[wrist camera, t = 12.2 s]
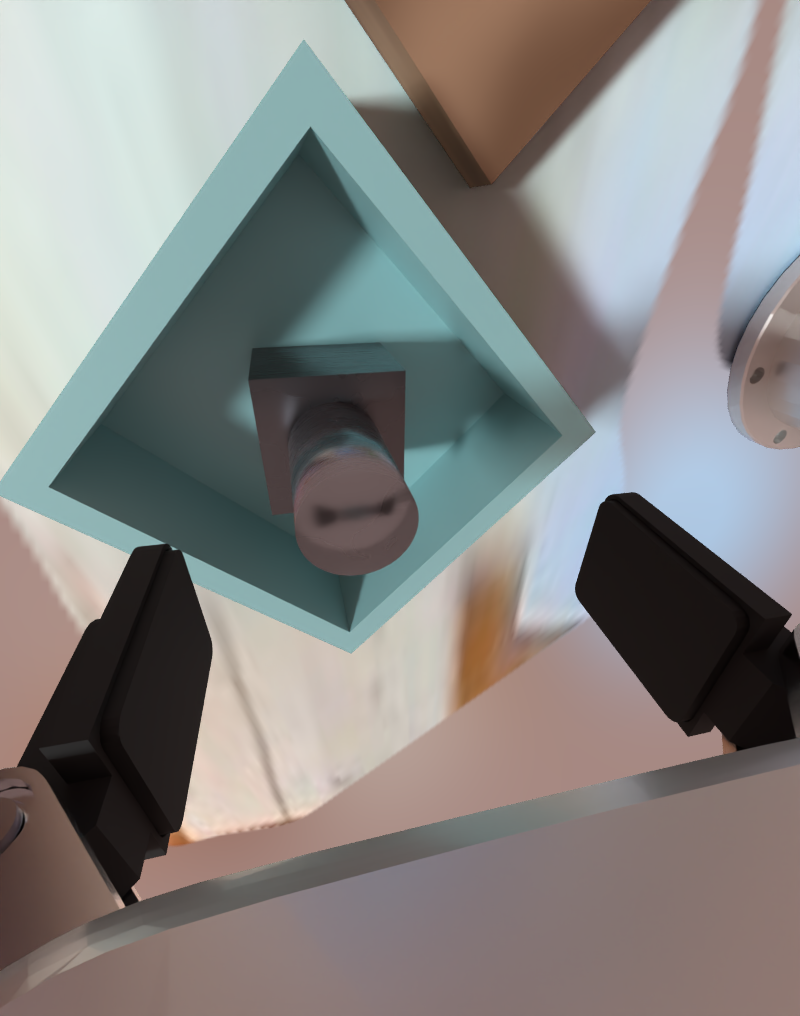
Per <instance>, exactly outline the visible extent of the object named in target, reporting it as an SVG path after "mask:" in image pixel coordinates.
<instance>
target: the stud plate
mask: <svg viewBox="0 0 800 1016" xmlns="http://www.w3.org/2000/svg"><path fill="white" fill-rule="evenodd" d="M650 1H651V0H345V2H346V3H347V5H348V6H349V8H350V9H351V11H352V12H353V14H354V15H355V17H356V18H357V20H358V21H359V23H360V24H361V26H362V27H363V29H364V30H365V32H366V33H367V35H368V36H369V38H370V39H371V41H372V42H373V44H374V45H375V47H376V48H377V50H378V51H379V53H380V54H381V56H382V57H383V59H384V60H385V62H386V63H387V65H388V66H389V68H390V69H391V71H392V72H393V74H394V75H395V77H396V78H397V80H398V81H399V83H400V84H401V86H402V87H403V89H404V90H405V92H406V93H407V95H408V96H409V98H410V99H411V101H412V102H413V104H414V105H415V107H416V108H417V110H418V111H419V113H420V114H421V116H422V117H423V119H424V120H425V121H426V123H427V124H428V126H429V127H430V129H431V130H432V132H433V133H434V135H435V136H436V138H437V139H438V141H439V142H440V144H441V145H442V147H443V148H444V150H445V151H446V153H447V154H448V156H449V157H450V159H451V160H452V162H453V163H454V165H455V166H456V168H457V169H458V171H459V172H460V174H461V175H462V177H463V178H464V180H465V181H466V183H467V184H468V186H469V187H470V188H473V187H479V186H485V185H490V184H492V183H493V182H494V181H495V180H496V179H497V177H498V176H499V175H500V174H501V173H502V172H503V171H504V169H505V168H506V167H507V166H508V165H509V164H510V162H511V161H512V160H513V159H514V158H515V157H516V156H517V154H518V153H519V152H520V151H521V150H522V149H523V147H524V146H525V145H526V144H527V143H528V142H529V141H530V139H531V138H532V137H533V136H534V135H535V134H536V132H537V131H538V130H539V129H540V128H541V127H542V126H543V124H544V123H545V122H546V121H547V120H548V119H549V117H550V116H551V115H552V114H553V113H554V112H555V111H556V109H557V108H558V107H559V106H560V105H561V104H562V102H563V101H564V100H565V99H566V98H567V97H568V96H569V94H570V93H571V92H572V91H573V90H574V89H575V87H576V86H577V85H578V84H579V83H580V82H581V81H582V79H583V78H584V77H585V76H586V75H587V74H588V72H589V71H590V70H591V69H592V68H593V67H594V66H595V64H596V63H597V62H598V61H599V60H600V59H601V57H602V56H603V55H604V54H605V53H606V52H607V51H608V49H609V48H610V47H611V46H612V45H613V44H614V42H615V41H616V40H617V39H618V38H619V37H620V36H621V34H622V33H623V32H624V31H625V30H626V29H627V27H628V26H629V25H630V24H631V23H632V22H633V21H634V19H635V18H636V17H637V16H638V15H639V14H640V12H641V11H642V10H643V9H644V8H645V7H646V6H647V4H648V3H649V2H650Z"/></svg>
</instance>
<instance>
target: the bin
mask: <svg viewBox="0 0 800 1016" xmlns="http://www.w3.org/2000/svg"><path fill="white" fill-rule="evenodd" d="M376 342H380V343H381V344H382V345H383V346H384V347H385V349H386V350H387V351H388V352H389V353H390V354H391V355H392V356H393V357H394V358H395V359H396V361H397V362H398V363H399V364H400V365H401V366H402V367H403V368H404V369H405V370H406V382H405V444H404V480H405V482H406V484H407V486H408V488H409V490H410V492H411V494H412V496H413V498H414V499H415V502H416V504H417V508H418V513H419V523H418V528H417V532H416V535H415V537H414V539H413V541H412V543H411V545H410V546H409V547H408V549H407V550H406V551H405V552H404V553H403V554H402V555H401V556H400V557H399V558H398V559H397V560H395V561H394V562H393V563H391V564H390V565H388V566H386V567H384V568H382V569H380V570H377V571H375V572H371V573H368V574H363V575H355V576H345V575H337V574H332V573H329V572H326V571H324V570H322V569H320V568H318V567H316V566H315V565H313V564H312V563H311V562H310V561H308V560H307V559H306V557H305V556H304V555H303V554H302V552H301V550H300V549H299V546H298V544H297V540H296V536H295V524H294V513H288V514H280V515H272V512H271V506H270V501H269V495H268V489H267V484H266V478H265V472H264V467H263V461H262V456H261V450H260V444H259V439H258V433H257V428H256V422H255V416H254V411H253V405H252V400H251V394H250V388H249V383H248V377H249V369H250V362H251V354H252V348H267V347H289V346H311V345H332V344H354V343H376ZM594 433H595V430H594V429H593V428H592V426H591V425H590V424H589V422H588V421H587V420H586V418H585V417H584V416H583V414H582V413H581V412H580V410H579V409H578V408H577V406H576V405H575V404H574V402H573V401H572V399H571V398H570V397H569V395H568V394H567V393H566V391H565V390H564V389H563V387H562V386H561V385H560V383H559V382H558V381H557V379H556V378H555V377H554V375H553V374H552V373H551V371H550V370H549V369H548V367H547V366H546V365H545V363H544V362H543V360H542V359H541V358H540V356H539V355H538V354H537V352H536V351H535V350H534V348H533V347H532V346H531V344H530V343H529V342H528V340H527V339H526V338H525V336H524V335H523V334H522V332H521V331H520V330H519V328H518V327H517V325H516V324H515V323H514V321H513V320H512V319H511V317H510V316H509V315H508V313H507V312H506V311H505V309H504V308H503V307H502V305H501V304H500V303H499V301H498V300H497V299H496V297H495V296H494V295H493V293H492V292H491V291H490V289H489V288H488V286H487V285H486V284H485V282H484V281H483V280H482V278H481V277H480V276H479V274H478V273H477V272H476V270H475V269H474V268H473V266H472V265H471V264H470V262H469V261H468V260H467V258H466V257H465V256H464V254H463V253H462V252H461V250H460V249H459V247H458V246H457V245H456V243H455V242H454V241H453V239H452V238H451V237H450V235H449V234H448V233H447V231H446V230H445V229H444V227H443V226H442V225H441V223H440V222H439V221H438V219H437V218H436V217H435V215H434V214H433V212H432V211H431V210H430V208H429V207H428V206H427V204H426V203H425V202H424V200H423V199H422V198H421V196H420V195H419V194H418V192H417V191H416V190H415V188H414V187H413V186H412V184H411V183H410V182H409V180H408V179H407V178H406V176H405V175H404V173H403V172H402V171H401V169H400V168H399V167H398V165H397V164H396V163H395V161H394V160H393V159H392V157H391V156H390V155H389V153H388V152H387V151H386V149H385V148H384V147H383V145H382V144H381V143H380V141H379V140H378V138H377V137H376V136H375V134H374V133H373V132H372V130H371V129H370V128H369V126H368V125H367V124H366V122H365V121H364V120H363V118H362V117H361V116H360V114H359V113H358V112H357V110H356V109H355V108H354V106H353V105H352V104H351V102H350V101H349V99H348V98H347V97H346V95H345V94H344V93H343V91H342V90H341V89H340V87H339V86H338V85H337V83H336V82H335V81H334V79H333V78H332V77H331V75H330V74H329V73H328V71H327V70H326V69H325V67H324V66H323V64H322V63H321V62H320V60H319V59H318V58H317V56H316V55H315V54H314V52H313V51H312V50H311V48H310V47H309V46H308V44H307V43H306V42H305V40H303V41H302V43H301V44H300V45H299V47H298V48H297V50H296V51H295V53H294V54H293V56H292V57H291V59H290V60H289V61H288V63H287V64H286V66H285V67H284V69H283V70H282V72H281V73H280V75H279V76H278V78H277V79H276V80H275V82H274V83H273V85H272V86H271V88H270V89H269V91H268V92H267V94H266V95H265V96H264V98H263V99H262V101H261V102H260V104H259V105H258V107H257V108H256V110H255V111H254V112H253V114H252V115H251V117H250V118H249V120H248V121H247V123H246V124H245V126H244V127H243V129H242V130H241V131H240V133H239V134H238V136H237V137H236V139H235V140H234V142H233V143H232V145H231V146H230V147H229V149H228V150H227V152H226V153H225V155H224V156H223V158H222V159H221V161H220V162H219V163H218V165H217V166H216V168H215V169H214V171H213V172H212V174H211V175H210V177H209V178H208V180H207V181H206V182H205V184H204V185H203V187H202V188H201V190H200V191H199V193H198V194H197V196H196V197H195V198H194V200H193V201H192V203H191V204H190V206H189V207H188V209H187V210H186V212H185V213H184V214H183V216H182V217H181V219H180V220H179V222H178V223H177V225H176V226H175V228H174V229H173V231H172V232H171V233H170V235H169V236H168V238H167V239H166V241H165V242H164V244H163V245H162V247H161V248H160V249H159V251H158V252H157V254H156V255H155V257H154V258H153V260H152V261H151V263H150V264H149V265H148V267H147V268H146V270H145V271H144V273H143V274H142V276H141V277H140V279H139V280H138V282H137V283H136V284H135V286H134V287H133V289H132V290H131V292H130V293H129V295H128V296H127V298H126V299H125V300H124V302H123V303H122V305H121V306H120V308H119V309H118V311H117V312H116V314H115V315H114V316H113V318H112V319H111V321H110V322H109V324H108V325H107V327H106V328H105V330H104V331H103V333H102V334H101V335H100V337H99V338H98V340H97V341H96V343H95V344H94V346H93V347H92V349H91V350H90V351H89V353H88V354H87V356H86V357H85V359H84V360H83V362H82V363H81V365H80V366H79V367H78V369H77V370H76V372H75V373H74V375H73V376H72V378H71V379H70V381H69V382H68V383H67V385H66V386H65V388H64V389H63V391H62V392H61V394H60V395H59V397H58V398H57V400H56V401H55V402H54V404H53V405H52V407H51V408H50V410H49V411H48V413H47V414H46V416H45V417H44V418H43V420H42V421H41V423H40V424H39V426H38V427H37V429H36V430H35V432H34V433H33V434H32V436H31V437H30V439H29V440H28V442H27V443H26V445H25V446H24V448H23V449H22V451H21V452H20V453H19V455H18V456H17V458H16V459H15V461H14V462H13V464H12V465H11V467H10V468H9V469H8V471H7V472H6V474H5V475H4V477H3V478H2V480H1V481H0V496H1V497H3V498H6V499H8V500H10V501H12V502H15V503H17V504H19V505H21V506H23V507H26V508H28V509H30V510H32V511H35V512H37V513H39V514H41V515H44V516H46V517H48V518H50V519H52V520H55V521H57V522H59V523H61V524H64V525H66V526H68V527H70V528H73V529H75V530H77V531H79V532H81V533H84V534H86V535H88V536H90V537H93V538H95V539H97V540H99V541H101V542H104V543H106V544H108V545H110V546H113V547H115V548H117V549H119V550H122V551H124V552H126V553H128V554H130V555H131V554H132V552H133V550H134V549H135V548H136V547H140V546H149V545H158V544H169V545H170V546H171V547H172V550H178V549H179V550H181V551H182V553H183V556H184V559H185V562H186V565H187V568H188V571H189V574H190V577H191V580H192V582H193V583H195V584H197V585H200V586H202V587H204V588H206V589H208V590H211V591H213V592H215V593H217V594H220V595H222V596H224V597H226V598H229V599H231V600H233V601H235V602H237V603H240V604H242V605H244V606H246V607H249V608H251V609H253V610H255V611H258V612H260V613H262V614H264V615H266V616H269V617H271V618H273V619H275V620H278V621H280V622H282V623H284V624H287V625H289V626H291V627H293V628H295V629H298V630H300V631H302V632H304V633H307V634H309V635H311V636H313V637H315V638H318V639H320V640H322V641H324V642H327V643H329V644H331V645H333V646H336V647H338V648H340V649H342V650H344V651H347V652H349V653H352V652H354V651H355V650H356V649H357V648H358V647H359V646H360V645H361V644H362V643H364V642H365V641H366V640H367V639H368V638H369V637H370V636H371V635H372V634H373V633H375V632H376V631H377V630H378V629H379V628H380V627H381V626H382V625H383V624H384V623H386V622H387V621H388V620H389V619H390V618H391V617H392V616H393V615H394V614H396V613H397V612H398V611H399V610H400V609H401V608H402V607H403V606H404V605H405V604H407V603H408V602H409V601H410V600H411V599H412V598H413V597H414V596H415V595H417V594H418V593H419V592H420V591H421V590H422V589H423V588H424V587H425V586H426V585H428V584H429V583H430V582H431V581H432V580H433V579H434V578H435V577H436V576H437V575H439V574H440V573H441V572H442V571H443V570H444V569H445V568H446V567H447V566H449V565H450V564H451V563H452V562H453V561H454V560H455V559H456V558H457V557H458V556H460V555H461V554H462V553H463V552H464V551H465V550H466V549H467V548H468V547H470V546H471V545H472V544H473V543H474V542H475V541H476V540H477V539H478V538H479V537H481V536H482V535H483V534H484V533H485V532H486V531H487V530H488V529H489V528H490V527H492V526H493V525H494V524H495V523H496V522H497V521H498V520H499V519H500V518H502V517H503V516H504V515H505V514H506V513H507V512H508V511H509V510H510V509H511V508H513V507H514V506H515V505H516V504H517V503H518V502H519V501H520V500H521V499H523V498H524V497H525V496H526V495H527V494H528V493H529V492H530V491H531V490H532V489H534V488H535V487H536V486H537V485H538V484H539V483H540V482H541V481H542V480H543V479H545V478H546V477H547V476H548V475H549V474H550V473H551V472H552V471H553V470H555V469H556V468H557V467H558V466H559V465H560V464H561V463H562V462H563V461H564V460H566V459H567V458H568V457H569V456H570V455H571V454H572V453H573V452H574V451H576V450H577V449H578V448H579V447H580V446H581V445H582V444H583V443H584V442H585V441H587V440H588V439H589V438H590V437H591V436H592V435H593V434H594Z"/></svg>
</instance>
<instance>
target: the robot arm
mask: <svg viewBox="0 0 800 1016" xmlns="http://www.w3.org/2000/svg"><path fill="white" fill-rule="evenodd" d="M727 394H728V395H727V397H728V410H729V413H730V417H731V420H732V423H733V424H734V425H735V427H736V429H737V430H738V431H739V433H740V434H742V435H743V436H744V437H746V438H747V439H749V440H751V441H753V442H755V443H758V444H760V445H763V446H765V447H767V448H774V449H789V448H796V447H800V256H799V257H798V258H797V259H796V260H795V261H794V262H793V264H792V265H791V266H790V267H789V268H788V269H787V270H786V271H785V272H784V273H783V274H782V275H781V277H780V278H779V279H778V280H777V282H776V283H775V284H774V286H773V287H772V288H771V290H770V291H769V292H768V294H767V295H766V296H765V298H764V299H763V300H762V302H761V304H760V305H759V307H758V309H757V310H756V312H755V314H754V315H753V317H752V319H751V320H750V322H749V323H748V326H747V328H746V330H745V332H744V334H743V336H742V339H741V341H740V343H739V345H738V347H737V350H736V354H735V357H734V360H733V363H732V366H731V369H730V376H729V382H728V389H727ZM575 592H576V596H577V598H578V600H579V601H580V603H581V604H582V605H583V607H584V608H585V609H586V611H587V612H588V613H589V615H590V616H591V617H592V618H593V620H594V621H595V622H596V624H597V625H598V626H599V628H600V629H601V630H602V632H603V633H604V634H605V636H606V637H607V638H608V639H609V641H610V642H611V643H612V645H613V646H614V647H615V649H616V650H617V651H618V653H619V654H620V655H621V657H622V658H623V659H624V660H625V662H626V663H627V664H628V666H629V667H630V668H631V670H632V671H633V672H634V674H636V676H637V677H638V679H639V680H640V682H641V683H642V684H643V685H644V687H645V688H646V689H647V691H648V692H649V693H650V695H651V696H652V697H653V699H654V700H655V701H656V703H657V704H658V705H659V707H660V708H661V709H662V710H663V712H664V713H665V714H666V715H667V717H668V718H669V719H671V720H672V721H674V722H677V723H678V724H679V726H680V727H681V728H682V730H683V731H684V732H685V733H686V735H687V736H688V737H689V736H693V735H698V734H702V733H706V732H710V731H711V730H712V729H713V727H714V726H716V727H717V728H718V729H719V730H720V732H721V733H722V742H723V755H719V756H715V757H711V758H707V759H702V760H698V761H693V762H689V763H685V764H680V765H676V766H672V767H668V768H663V769H659V770H655V771H650V772H646V773H642V774H638V775H633V776H629V777H625V778H621V779H617V780H612V781H608V782H604V783H600V784H596V785H591V786H587V787H583V788H578V789H575V790H570V791H566V792H562V793H557V794H553V795H549V796H545V797H541V798H537V799H532V800H528V801H524V802H520V803H516V804H511V805H507V806H503V807H499V808H495V809H491V810H486V811H482V812H478V813H474V814H470V815H466V816H462V817H457V818H453V819H449V820H445V821H441V822H437V823H433V824H429V825H425V826H421V827H417V828H412V829H408V830H404V831H400V832H396V833H392V834H388V835H383V836H379V837H375V838H371V839H367V840H363V841H359V842H355V843H351V844H347V845H343V846H338V847H334V848H330V849H326V850H322V851H318V852H314V853H310V854H306V855H302V856H299V857H295V858H291V859H287V860H283V861H279V862H276V863H272V864H269V865H264V866H260V867H257V868H253V869H249V870H245V871H241V872H238V873H234V874H230V875H227V876H222V877H219V878H215V879H212V880H207V881H204V882H200V883H197V884H193V885H190V886H187V887H184V888H181V889H178V890H174V891H171V892H168V893H165V894H162V895H159V896H155V897H152V898H149V899H146V900H143V901H142V900H141V898H140V896H139V895H138V893H137V891H136V890H135V888H134V884H135V883H136V882H137V881H138V880H139V879H140V876H141V872H142V867H143V863H144V860H145V859H150V858H154V857H159V856H163V855H166V853H167V848H168V843H169V837H170V833H174V832H177V831H179V829H180V827H181V825H182V821H183V817H184V811H185V805H186V800H187V794H188V789H189V783H190V778H191V772H192V766H193V761H194V755H195V750H196V744H197V738H198V733H199V727H200V722H201V716H202V711H203V705H204V699H205V694H206V688H207V683H208V677H209V671H210V666H211V660H212V641H211V637H210V634H209V631H208V628H207V625H206V622H205V619H204V616H203V613H202V610H201V607H200V604H199V601H198V598H197V595H196V592H195V589H194V586H193V583H192V580H191V577H190V574H189V571H188V568H187V565H186V562H185V559H184V556H183V553H182V551H181V550H179V549H178V550H172V547H171V546H170V545H169V544H158V545H149V546H140V547H136V548H135V549H134V550H133V552H132V554H131V556H130V558H129V560H128V562H127V564H126V566H125V568H124V570H123V573H122V575H121V577H120V579H119V581H118V583H117V585H116V587H115V589H114V591H113V594H112V596H111V598H110V600H109V602H108V604H107V606H106V608H105V610H104V612H103V614H102V617H101V619H96V620H94V621H93V622H91V623H90V624H89V625H88V627H87V628H86V630H85V632H84V634H83V636H82V638H81V640H80V642H79V644H78V646H77V648H76V650H75V652H74V654H73V656H72V658H71V660H70V662H69V664H68V666H67V668H66V670H65V672H64V674H63V676H62V678H61V680H60V682H59V684H58V686H57V688H56V690H55V692H54V694H53V696H52V698H51V700H50V702H49V704H48V706H47V708H46V710H45V712H44V714H43V716H42V718H41V720H40V722H39V724H38V726H37V728H36V730H35V732H34V734H33V736H32V738H31V740H30V742H29V744H28V746H27V748H26V750H25V752H24V754H23V756H22V758H21V760H20V762H19V764H18V766H17V767H12V768H4V769H1V770H0V1016H800V624H798V625H797V627H796V628H795V629H794V630H793V632H792V633H791V632H790V631H789V630H788V629H786V628H785V627H784V625H785V624H786V622H787V621H788V620H789V618H790V617H791V615H792V614H791V613H790V612H789V611H787V610H786V609H785V608H783V607H782V606H781V605H780V604H778V603H777V602H776V601H775V600H773V599H772V598H771V597H769V596H768V595H767V594H766V593H764V592H763V591H762V590H761V589H759V588H758V587H756V586H755V585H754V584H753V583H752V582H750V581H749V580H748V579H747V578H745V577H744V576H743V575H741V574H740V573H739V572H737V571H736V570H735V569H734V568H732V567H731V566H730V565H729V564H727V563H726V562H725V561H723V560H722V559H721V558H720V557H718V556H717V555H716V554H715V553H713V552H712V551H711V550H709V549H708V548H707V547H706V546H704V545H703V544H702V543H700V542H699V541H698V540H697V539H695V538H694V537H693V536H692V535H690V534H689V533H688V532H686V531H685V530H684V529H683V528H681V527H680V526H679V525H678V524H676V523H675V522H674V521H672V520H671V519H670V518H669V517H667V516H666V515H665V514H663V513H662V512H661V511H660V510H658V509H657V508H656V507H654V506H653V505H652V504H651V503H649V502H648V501H647V500H645V499H644V498H643V497H642V496H640V495H639V494H637V493H633V492H631V493H621V494H612V495H610V496H608V497H607V498H606V499H605V502H602V503H601V504H600V506H599V509H598V512H597V516H596V519H595V522H594V526H593V529H592V532H591V535H590V539H589V542H588V545H587V549H586V552H585V555H584V558H583V562H582V565H581V568H580V572H579V575H578V578H577V582H576V585H575Z"/></svg>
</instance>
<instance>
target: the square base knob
mask: <svg viewBox="0 0 800 1016" xmlns="http://www.w3.org/2000/svg"><path fill="white" fill-rule="evenodd" d="M405 382H406V370H405V369H404V368H403V367H402V366H401V365H400V364H399V363H398V362H397V361H396V359H395V358H394V357H393V356H392V355H391V354H390V353H389V352H388V351H387V350H386V349H385V347H384V346H383V345H382V344H381V343H380V342H376V343H354V344H332V345H311V346H289V347H267V348H252V354H251V362H250V369H249V377H248V383H249V388H250V394H251V400H252V405H253V411H254V416H255V422H256V428H257V433H258V439H259V444H260V450H261V456H262V461H263V467H264V472H265V478H266V484H267V489H268V495H269V501H270V506H271V512H272V515H280V514H288V513H294V524H295V536H296V540H297V544H298V546H299V549H300V550H301V552H302V554H303V555H304V556H305V557H306V559H307V560H308V561H310V562H311V563H312V564H313V565H315V566H316V567H318V568H320V569H322V570H324V571H326V572H329V573H332V574H337V575H345V576H355V575H363V574H368V573H371V572H375V571H377V570H380V569H382V568H384V567H386V566H388V565H390V564H391V563H393V562H394V561H395V560H397V559H398V558H399V557H400V556H401V555H402V554H403V553H404V552H405V551H406V550H407V549H408V547H409V546H410V545H411V543H412V541H413V539H414V537H415V535H416V532H417V528H418V523H419V513H418V508H417V504H416V502H415V499H414V498H413V496H412V494H411V492H410V490H409V488H408V486H407V484H406V482H405V480H404V444H405Z"/></svg>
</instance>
